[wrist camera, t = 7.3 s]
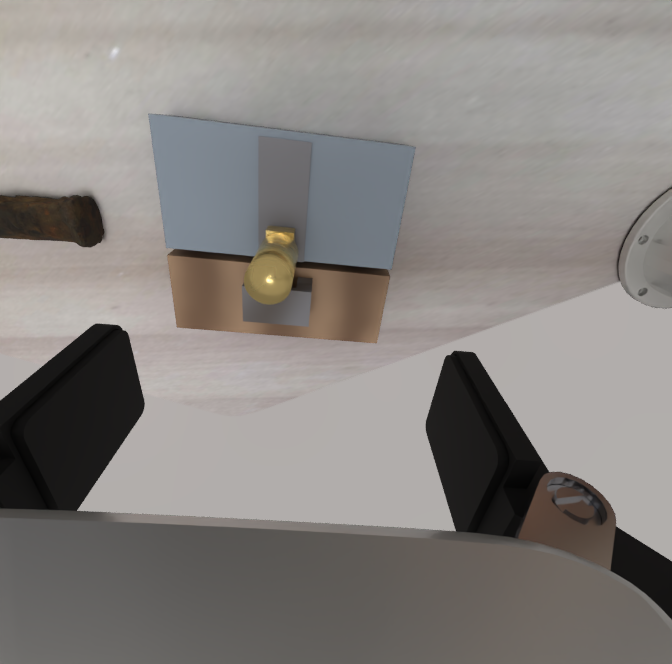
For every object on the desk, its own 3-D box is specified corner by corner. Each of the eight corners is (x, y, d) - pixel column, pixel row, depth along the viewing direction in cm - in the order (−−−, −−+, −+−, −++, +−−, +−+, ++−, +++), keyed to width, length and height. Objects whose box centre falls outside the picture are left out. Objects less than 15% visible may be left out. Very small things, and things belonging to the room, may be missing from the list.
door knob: (300, 228, 26) (292, 261, 20) (295, 311, 30) (287, 361, 24) (263, 224, 26) (243, 256, 20) (262, 308, 30) (245, 357, 23)
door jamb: (383, 260, 33) (396, 290, 27) (371, 322, 36) (381, 361, 30) (184, 241, 31) (151, 267, 25) (191, 307, 35) (164, 344, 29)
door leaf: (404, 144, 28) (416, 147, 24) (384, 254, 32) (392, 270, 29) (171, 115, 26) (146, 113, 23) (184, 234, 31) (164, 248, 27)
